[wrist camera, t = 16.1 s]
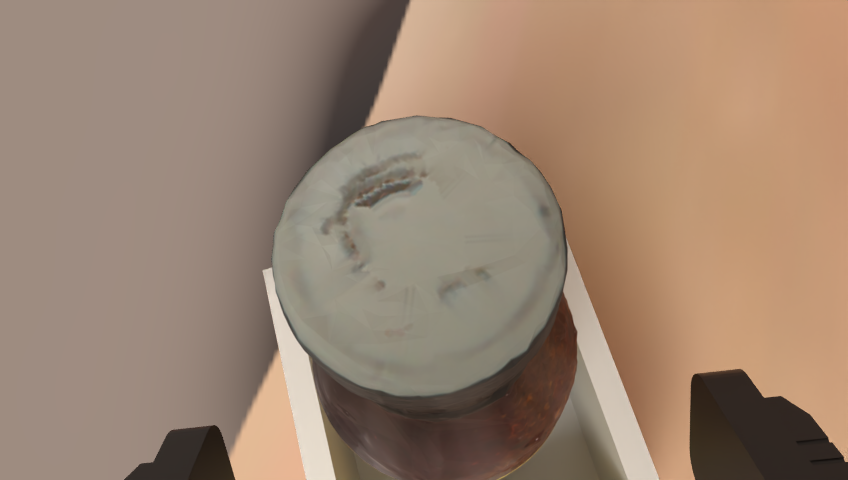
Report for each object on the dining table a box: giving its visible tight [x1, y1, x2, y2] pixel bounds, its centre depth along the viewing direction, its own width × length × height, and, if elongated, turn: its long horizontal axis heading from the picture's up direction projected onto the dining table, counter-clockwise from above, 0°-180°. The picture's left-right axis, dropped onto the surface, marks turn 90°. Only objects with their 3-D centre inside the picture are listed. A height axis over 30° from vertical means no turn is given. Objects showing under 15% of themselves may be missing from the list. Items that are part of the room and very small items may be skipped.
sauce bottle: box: [271, 116, 578, 480], centre depth 19 cm, size 7×6×20 cm
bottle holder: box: [263, 238, 659, 480], centre depth 26 cm, size 10×11×6 cm
